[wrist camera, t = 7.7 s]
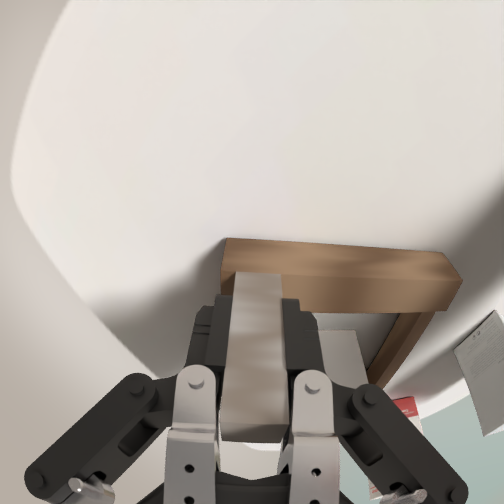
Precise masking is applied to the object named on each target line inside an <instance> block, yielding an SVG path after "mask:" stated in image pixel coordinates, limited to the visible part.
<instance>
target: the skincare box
mask: <svg viewBox="0 0 504 504" xmlns="http://www.w3.org/2000/svg"><path fill="white" fill-rule="evenodd" d="M453 351H454V353H455V356H456V358H457V361H458V363H459V365H460V368H461V370H462V373H463V375H464V378H465V380H466V383H467V386H468V388H469V391H470V394H471V397H472V399H473V403H474V405H475V409H476V412H477V415H478V418H479V422H480V425H481V429H482V433H483V436H484V437H485V436H488V435H491V434H494V433H497V432H500V431H502V430H504V316H503V315H502V314H500V313H499V312H498V311H496V310H495V311H494V312H493V313H492V314H491V315H490V316H489V317H488V318H487V319H486V320H485V321H484V322H483V323H482V324H481V325H480V326H479V327H478V328H477V329H476V330H475V331H474V332H473V333H472V334H471V335H470V336H469V337H467V338H466V339H465V340H464V341H463V342H462V343H461V344H460V345H459V346H457V347H456V348H455V349H454V350H453Z"/></svg>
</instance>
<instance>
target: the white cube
mask: <svg viewBox="0 0 504 504" xmlns="http://www.w3.org/2000/svg"><path fill="white" fill-rule="evenodd" d="M318 332H319V340H320V344H321V350H322V356H323V362H324V369H325V372H326V374H327V376H328V377H329V378H330V379H331V380H332V381H333V382H335V383H336V384H338V385H342V386H345V387H350V388H354V389H356V388H357V387H359V386H360V385H363V384H369V383H368V379H367V375H366V371H365V367H364V363H363V359H362V355H361V351H360V347H359V343H358V340H357V336H356V332H355V330H318Z"/></svg>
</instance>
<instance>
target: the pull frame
mask: <svg viewBox="0 0 504 504" xmlns="http://www.w3.org/2000/svg"><path fill="white" fill-rule="evenodd" d="M220 272H221V295H233V303H232V312H231V321H230V330H229V340H228V349H227V359H226V368H225V372H224V381H223V391H222V400H221V410H220V420H219V423H220V430H221V438H222V441H232V442H247V443H280V442H281V440H282V438H283V436H284V434H285V432H286V430H287V428H288V426H289V403H288V381H287V371H286V355H285V338H284V322H283V307H282V298H291V299H299V303H300V310H301V311H310V312H311V313H400V315H399V317H398V319H397V321H396V322H395V324H394V326H393V328H392V330H391V332H390V333H389V335H388V337H387V339H386V341H385V342H384V344H383V346H382V347H381V349H380V351H379V352H378V354H377V356H376V357H375V359H374V361H373V362H372V364H371V366H370V367H369V369H368V370H367V372H366V375H367V379H368V383H369V384H374V385H377V386H378V387H380V388H381V389H382V390H383V388H384V387H385V386H386V384H387V383H388V382H389V381H390V379H391V378H392V377H393V375H394V374H395V373H396V371H397V370H398V369H399V367H400V366H401V364H402V363H403V362H404V360H405V359H406V357H407V356H408V355H409V353H410V352H411V350H412V349H413V347H414V346H415V344H416V343H417V341H418V340H419V338H420V337H421V335H422V333H423V332H424V330H425V329H426V327H427V325H428V324H429V322H430V321H431V319H432V317H433V315H434V314H435V312H436V311H446V310H447V309H448V307H449V305H450V303H451V302H452V300H453V298H454V296H455V295H456V293H457V291H458V289H459V287H460V285H461V283H462V281H463V280H462V279H461V277H460V276H459V274H458V273H457V272H456V270H455V269H454V267H453V266H452V265H451V263H450V262H449V261H448V259H447V258H446V257H445V255H444V254H443V253H439V252H427V251H415V250H402V249H389V248H376V247H362V246H348V245H334V244H319V243H304V242H289V241H273V240H256V239H239V238H227V240H226V245H225V250H224V255H223V260H222V265H221V270H220Z"/></svg>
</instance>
